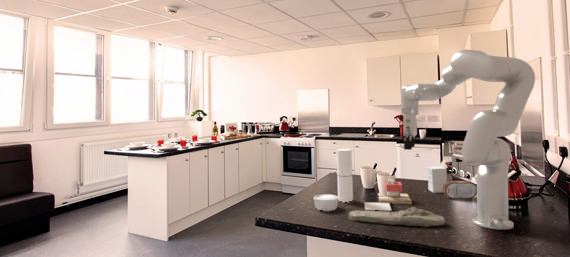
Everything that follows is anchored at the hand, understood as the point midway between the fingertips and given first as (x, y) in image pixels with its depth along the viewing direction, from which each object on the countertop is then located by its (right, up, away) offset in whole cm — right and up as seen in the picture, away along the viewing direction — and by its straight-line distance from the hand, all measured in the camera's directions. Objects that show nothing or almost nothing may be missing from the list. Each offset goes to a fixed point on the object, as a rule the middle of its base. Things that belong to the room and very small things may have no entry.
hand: (409, 148), depth 148 cm
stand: (-6, -25, +4) cm, 26 cm away
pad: (-17, -26, -8) cm, 32 cm away
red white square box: (-6, -20, +3) cm, 22 cm away
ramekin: (-40, -27, -7) cm, 49 cm away
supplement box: (+22, -24, +17) cm, 37 cm away
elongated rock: (-17, -27, -27) cm, 42 cm away
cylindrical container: (-29, -26, +5) cm, 40 cm away
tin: (+25, -25, +2) cm, 35 cm away
